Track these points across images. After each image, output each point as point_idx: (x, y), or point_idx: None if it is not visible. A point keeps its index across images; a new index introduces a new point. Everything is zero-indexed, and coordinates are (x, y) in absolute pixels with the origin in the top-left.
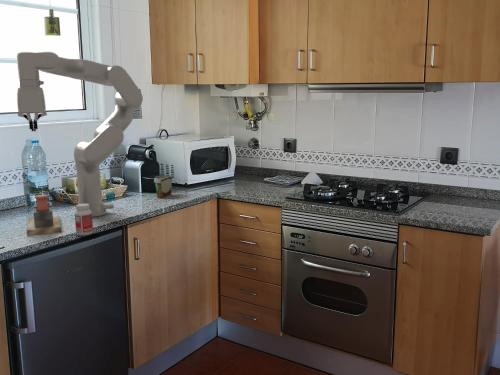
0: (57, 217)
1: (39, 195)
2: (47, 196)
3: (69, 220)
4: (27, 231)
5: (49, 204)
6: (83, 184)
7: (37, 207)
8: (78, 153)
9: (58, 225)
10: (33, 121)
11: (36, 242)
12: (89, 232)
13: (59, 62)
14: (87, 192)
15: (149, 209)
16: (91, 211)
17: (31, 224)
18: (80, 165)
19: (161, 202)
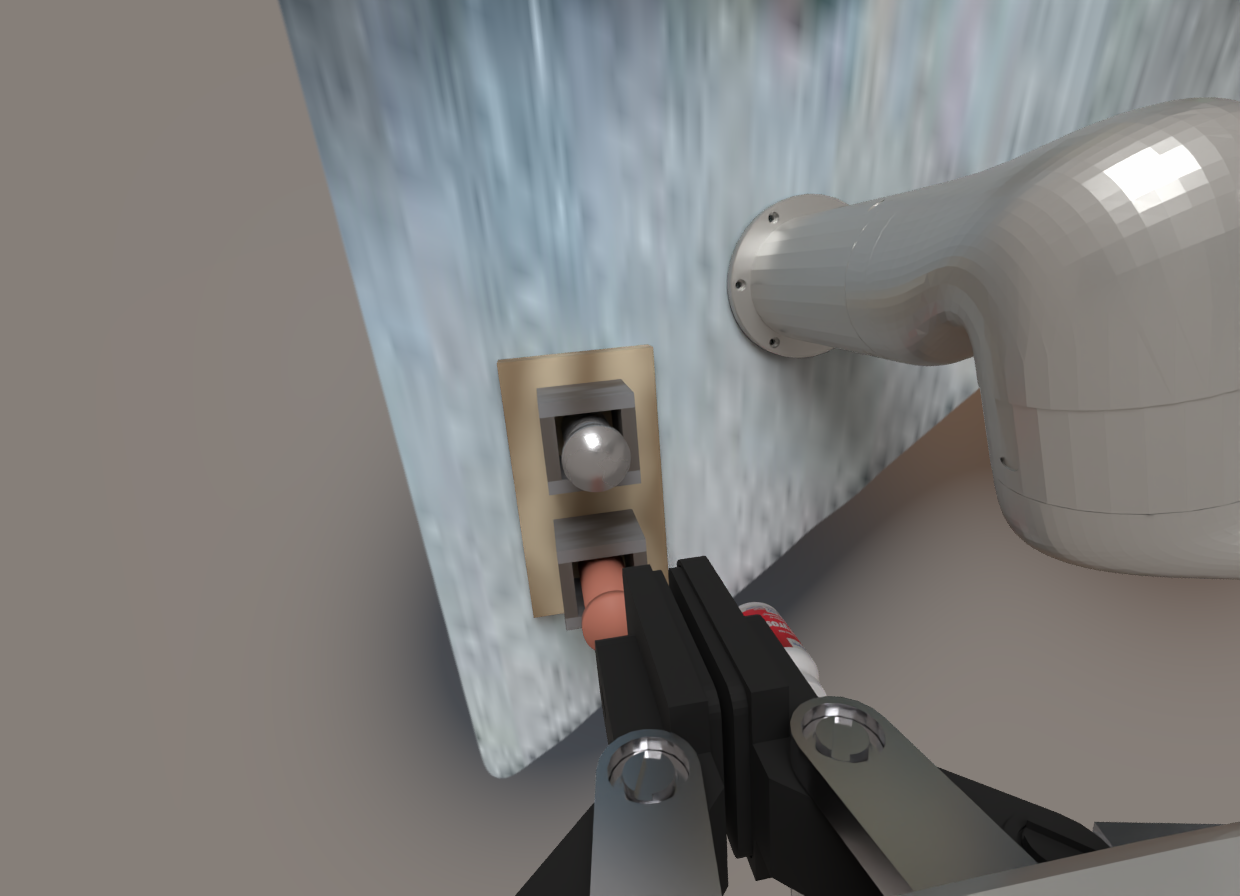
0: (645, 410)
1: (601, 607)
2: None
3: (693, 382)
4: (535, 614)
5: None
6: (861, 350)
7: (566, 490)
8: (1016, 409)
9: (657, 569)
10: (744, 837)
11: (582, 702)
12: None
13: None
14: (851, 351)
15: None
16: (818, 679)
17: (536, 519)
18: (942, 328)
19: (1179, 94)
